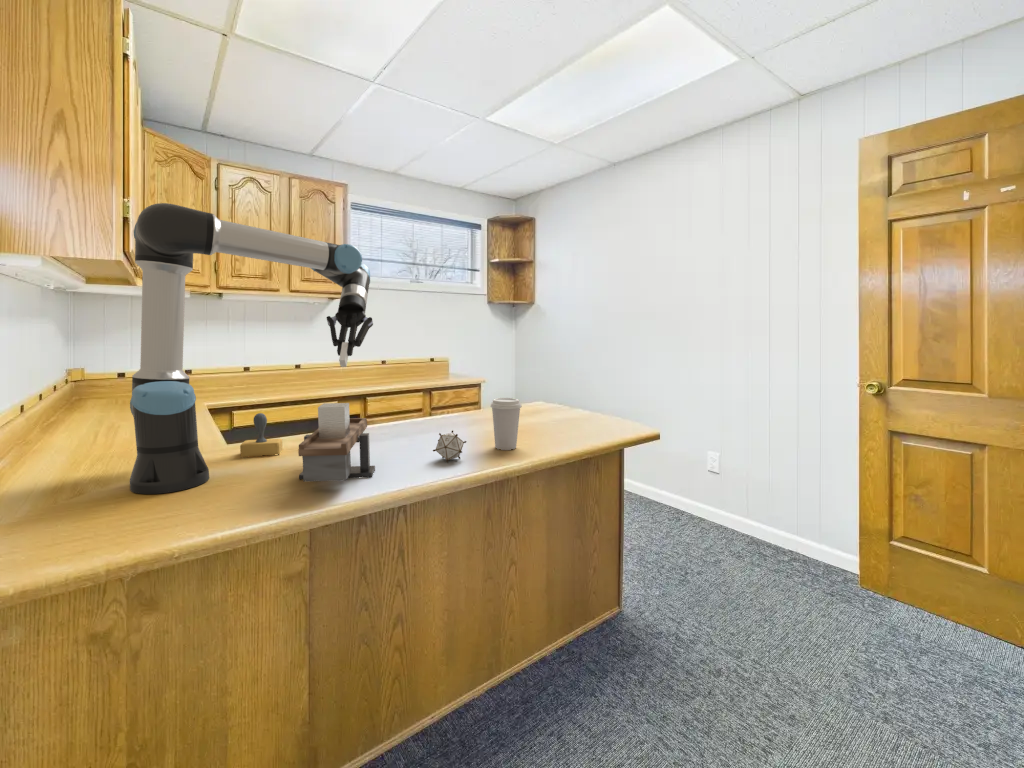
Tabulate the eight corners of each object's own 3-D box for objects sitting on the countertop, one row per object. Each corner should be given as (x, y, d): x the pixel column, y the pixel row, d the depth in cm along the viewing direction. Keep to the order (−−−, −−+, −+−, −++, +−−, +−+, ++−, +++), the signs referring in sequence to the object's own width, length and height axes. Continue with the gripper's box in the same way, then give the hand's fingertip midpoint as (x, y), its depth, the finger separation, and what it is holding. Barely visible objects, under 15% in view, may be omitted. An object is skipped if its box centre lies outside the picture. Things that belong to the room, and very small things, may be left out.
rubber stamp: (240, 457, 135) (238, 415, 134) (245, 452, 141) (243, 412, 139) (279, 455, 138) (277, 414, 137) (282, 450, 144) (280, 410, 142)
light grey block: (324, 433, 120) (323, 403, 119) (349, 432, 121) (349, 403, 120) (319, 438, 114) (317, 407, 113) (345, 438, 115) (344, 407, 114)
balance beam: (329, 448, 134) (328, 418, 133) (368, 447, 136) (367, 418, 135) (298, 483, 105) (297, 445, 104) (348, 481, 106) (347, 443, 105)
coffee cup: (526, 446, 151) (527, 399, 149) (510, 453, 143) (510, 403, 141) (501, 442, 156) (501, 396, 154) (484, 448, 148) (484, 400, 146)
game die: (449, 470, 137) (454, 438, 142) (469, 465, 132) (474, 432, 137) (424, 460, 132) (431, 427, 137) (444, 454, 127) (450, 420, 132)
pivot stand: (306, 472, 123) (304, 433, 121) (375, 470, 125) (374, 431, 124) (299, 479, 117) (297, 438, 115) (371, 477, 119) (370, 436, 118)
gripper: (376, 313, 147) (369, 372, 133) (332, 312, 146) (320, 372, 131) (374, 294, 142) (366, 354, 127) (327, 293, 140) (314, 353, 125)
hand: (342, 363), depth 129 cm, fingers closed
